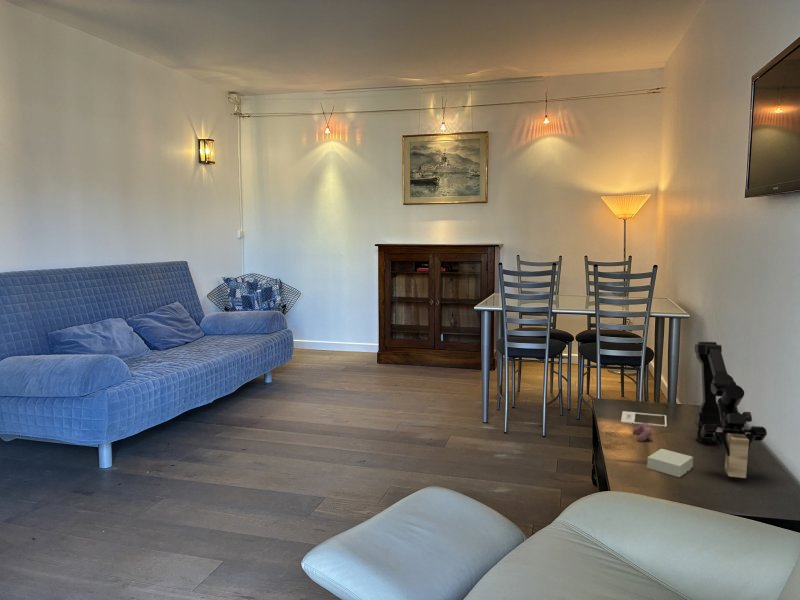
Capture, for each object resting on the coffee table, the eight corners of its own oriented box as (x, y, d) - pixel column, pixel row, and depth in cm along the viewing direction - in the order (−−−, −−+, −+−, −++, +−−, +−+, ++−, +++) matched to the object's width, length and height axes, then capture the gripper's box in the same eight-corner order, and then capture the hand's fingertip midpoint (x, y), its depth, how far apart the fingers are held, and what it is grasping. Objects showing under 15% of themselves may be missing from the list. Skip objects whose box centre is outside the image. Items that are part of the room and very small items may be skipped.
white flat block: (661, 459, 208) (661, 448, 207) (692, 467, 199) (693, 456, 199) (647, 468, 200) (647, 457, 200) (679, 477, 192) (679, 466, 192)
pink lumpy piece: (647, 446, 224) (656, 431, 223) (636, 440, 225) (645, 425, 223) (641, 437, 234) (650, 422, 232) (631, 431, 234) (639, 417, 233)
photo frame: (622, 410, 260) (666, 414, 253) (622, 413, 261) (666, 417, 253) (620, 420, 247) (666, 425, 240) (620, 423, 247) (666, 427, 240)
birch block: (724, 469, 193) (727, 433, 191) (741, 471, 191) (744, 434, 189) (728, 476, 188) (731, 438, 186) (745, 478, 187) (749, 440, 185)
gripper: (704, 400, 193) (712, 444, 183) (766, 403, 188) (777, 448, 179) (697, 415, 201) (704, 458, 192) (756, 418, 197) (767, 462, 187)
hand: (738, 456), depth 187 cm, fingers closed on birch block, 5 cm apart
